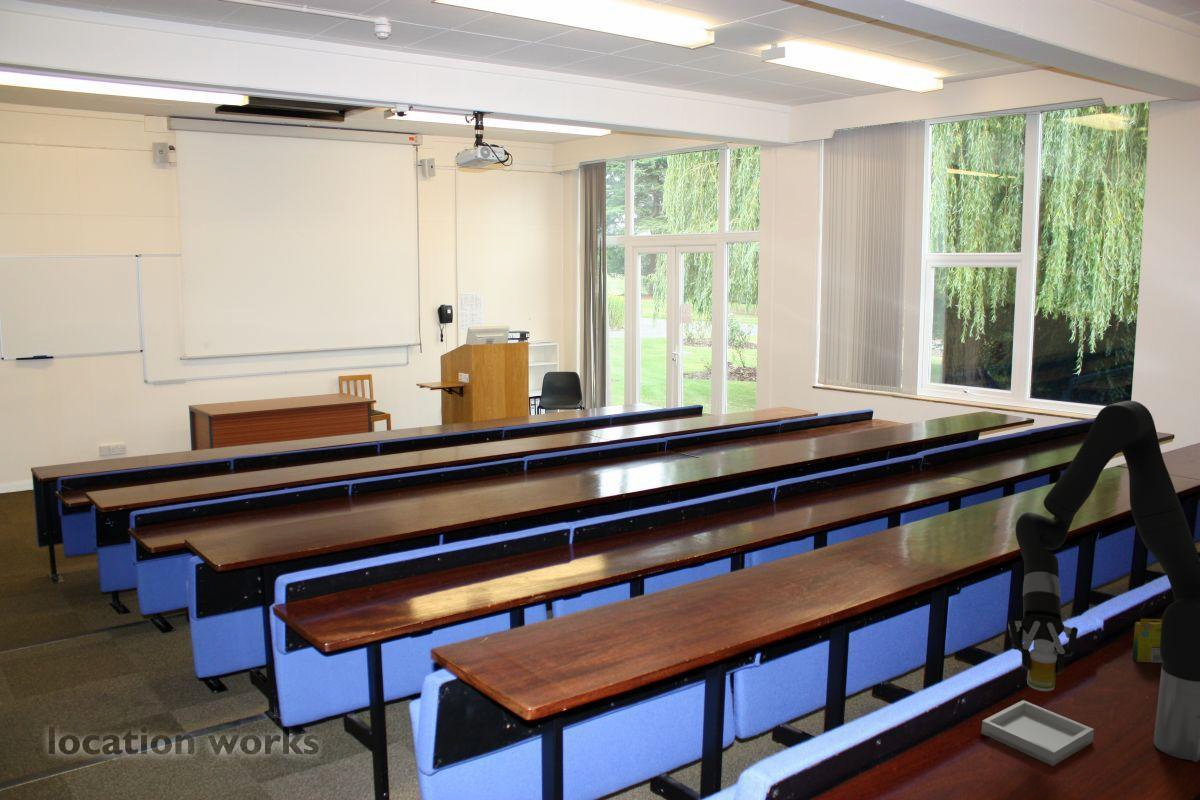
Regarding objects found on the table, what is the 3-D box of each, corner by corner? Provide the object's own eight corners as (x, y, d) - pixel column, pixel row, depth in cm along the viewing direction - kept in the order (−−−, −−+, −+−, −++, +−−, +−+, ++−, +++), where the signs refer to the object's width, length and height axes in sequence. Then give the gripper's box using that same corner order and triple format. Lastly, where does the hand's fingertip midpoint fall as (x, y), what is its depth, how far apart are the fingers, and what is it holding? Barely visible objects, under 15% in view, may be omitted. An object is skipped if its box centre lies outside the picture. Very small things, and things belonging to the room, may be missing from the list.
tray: (1092, 742, 202) (1094, 729, 202) (1052, 766, 193) (1054, 752, 192) (1022, 712, 215) (1023, 700, 214) (981, 733, 206) (982, 720, 205)
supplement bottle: (1057, 692, 199) (1061, 649, 197) (1030, 690, 200) (1033, 647, 199) (1051, 681, 204) (1054, 638, 203) (1024, 679, 205) (1027, 636, 204)
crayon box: (1161, 658, 243) (1166, 615, 241) (1167, 663, 240) (1171, 620, 238) (1131, 657, 244) (1135, 614, 242) (1136, 662, 241) (1140, 618, 239)
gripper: (1008, 586, 208) (1008, 659, 199) (1080, 593, 204) (1083, 669, 195) (1004, 600, 214) (1004, 672, 205) (1075, 608, 210) (1078, 682, 200)
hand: (1043, 670), depth 200 cm, fingers closed on supplement bottle, 5 cm apart
